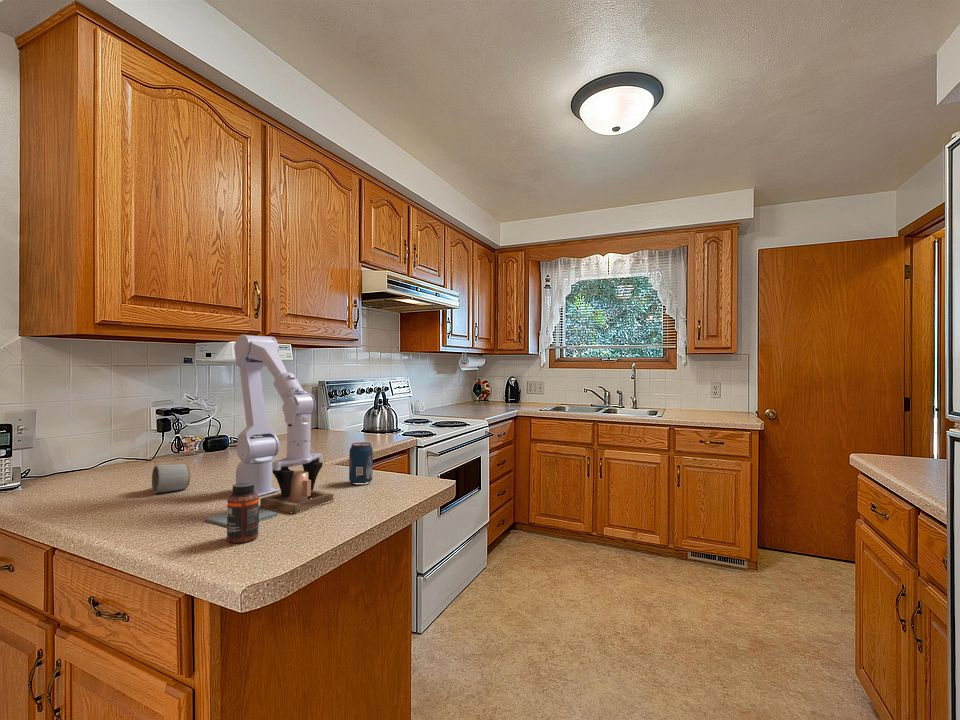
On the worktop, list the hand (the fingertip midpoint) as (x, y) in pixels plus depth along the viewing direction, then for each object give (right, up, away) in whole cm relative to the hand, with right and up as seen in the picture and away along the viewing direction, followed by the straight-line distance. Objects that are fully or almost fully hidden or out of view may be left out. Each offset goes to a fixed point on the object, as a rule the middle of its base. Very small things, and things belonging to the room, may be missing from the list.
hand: (297, 493), depth 124 cm
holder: (0, -3, 0) cm, 3 cm away
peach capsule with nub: (0, -3, 0) cm, 3 cm away
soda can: (+11, -3, +23) cm, 25 cm away
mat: (-9, -3, -12) cm, 15 cm away
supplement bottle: (-2, -3, -25) cm, 25 cm away
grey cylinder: (-41, -3, +12) cm, 43 cm away
